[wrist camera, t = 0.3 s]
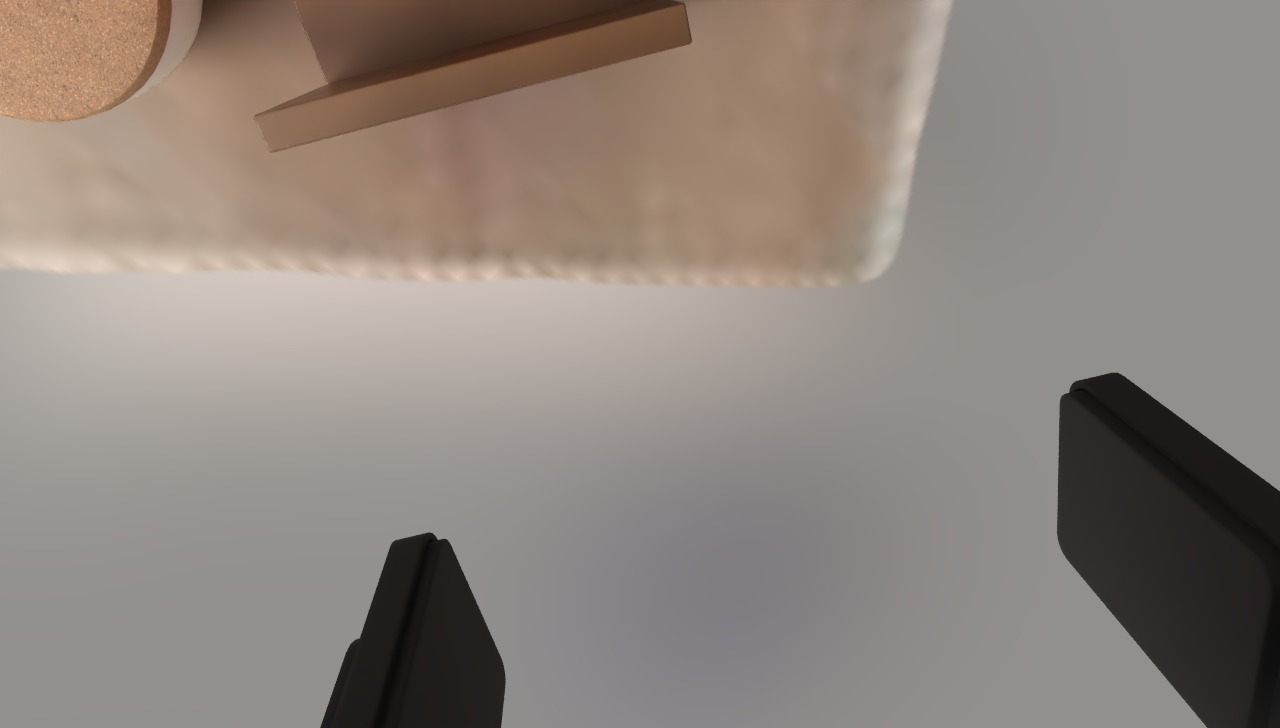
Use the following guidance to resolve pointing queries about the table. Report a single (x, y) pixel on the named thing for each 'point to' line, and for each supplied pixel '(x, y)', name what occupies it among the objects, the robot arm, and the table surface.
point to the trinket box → (88, 53)
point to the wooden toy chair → (455, 55)
